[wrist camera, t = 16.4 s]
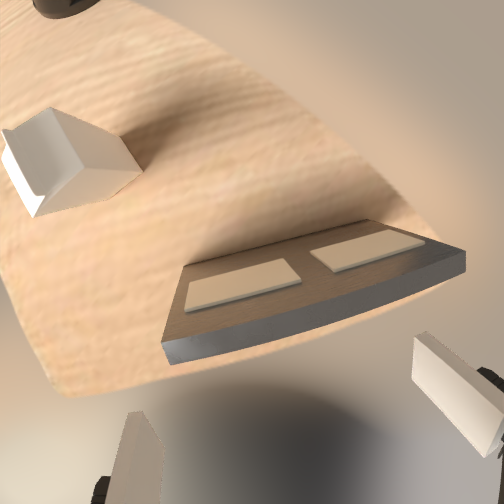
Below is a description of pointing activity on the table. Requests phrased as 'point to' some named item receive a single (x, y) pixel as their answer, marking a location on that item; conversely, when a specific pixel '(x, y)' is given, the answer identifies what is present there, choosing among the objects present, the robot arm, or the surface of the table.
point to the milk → (65, 162)
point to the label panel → (300, 286)
